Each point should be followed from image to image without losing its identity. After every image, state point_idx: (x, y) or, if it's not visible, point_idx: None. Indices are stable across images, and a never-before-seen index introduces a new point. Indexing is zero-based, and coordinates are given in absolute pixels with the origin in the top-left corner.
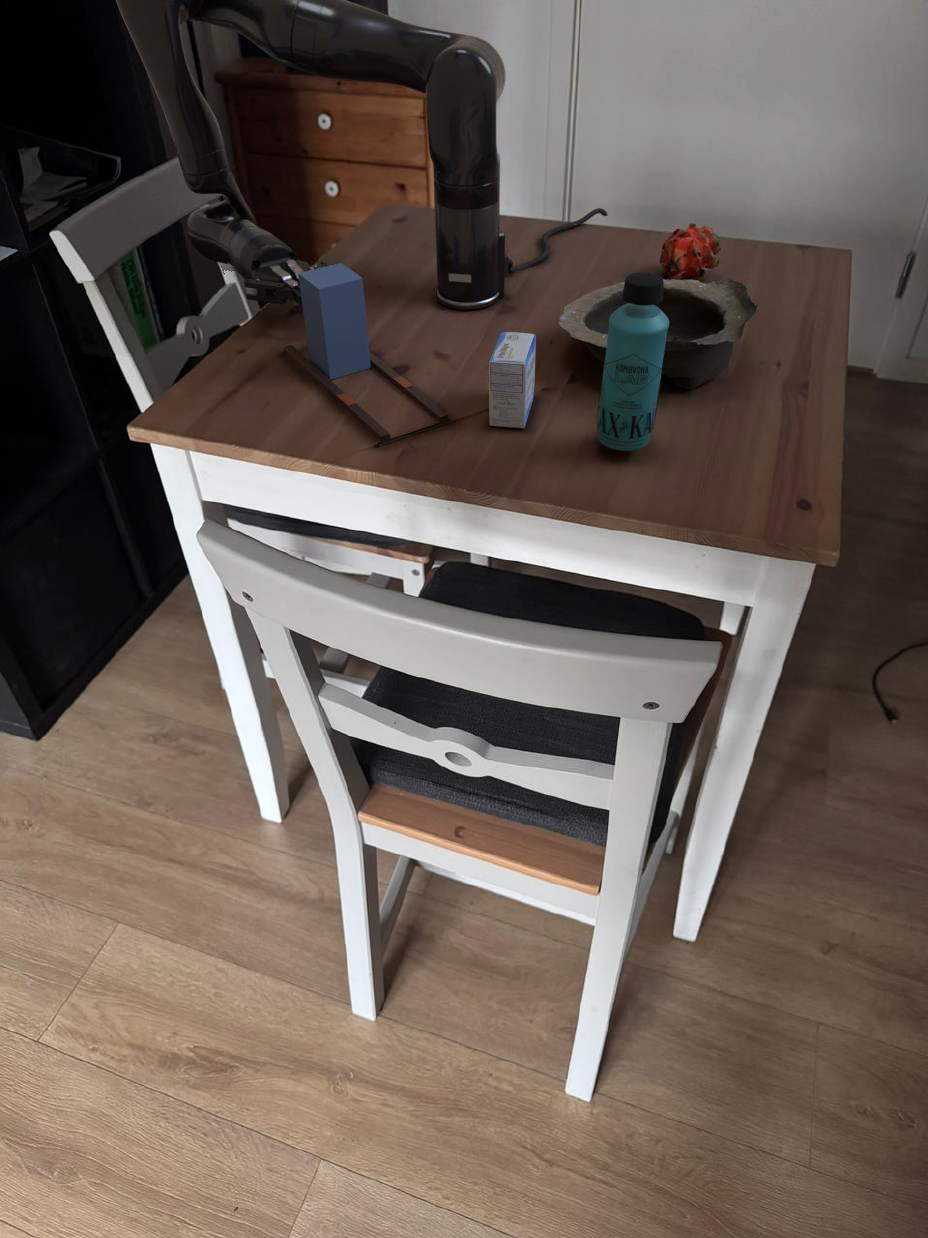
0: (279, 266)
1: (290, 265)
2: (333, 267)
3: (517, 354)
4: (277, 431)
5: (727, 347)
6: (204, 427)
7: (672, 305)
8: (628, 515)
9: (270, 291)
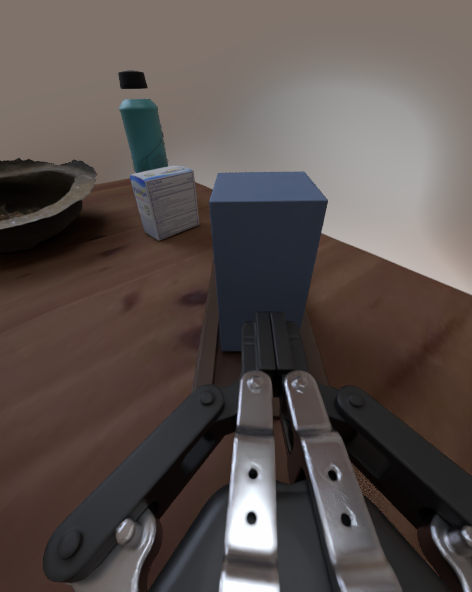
0: (341, 576)
1: (265, 564)
2: (238, 195)
3: (171, 167)
4: (363, 269)
5: (24, 191)
6: (454, 300)
7: None
8: (203, 186)
9: (385, 475)
